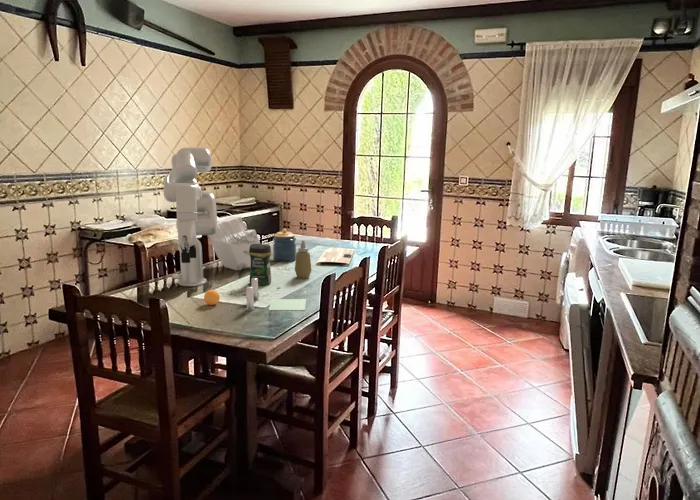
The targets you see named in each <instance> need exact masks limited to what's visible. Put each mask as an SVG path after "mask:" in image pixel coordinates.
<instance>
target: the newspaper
mask: <svg viewBox="0 0 700 500" xmlns="http://www.w3.org/2000/svg"><path fill="white" fill-rule="evenodd" d="M354 254H355V249H352V248H351V249H350V248H339V247H338V248H337V247H336V248H335V247H333V248H326V249H325V250H324V251H323V252H322V254H321V255H320V257H319V258H318V260H317V261H316V262H315V264H316V266H321V265H322V264H323V263H338V264H339V263H341V265H342V266H343V267H348V266H350V264H351V262H352V260H353V256H354Z"/></svg>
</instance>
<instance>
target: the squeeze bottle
mask: <svg viewBox="0 0 700 500" xmlns="http://www.w3.org/2000/svg"><path fill="white" fill-rule="evenodd" d="M294 271H295V274H296V277H297V279H308V278H309V277H310V276H311V272H312V262H311V253H310V252H309V248H308V247H306V241H305V240H301V243H300V247H298V252H296V260H295V264H294Z"/></svg>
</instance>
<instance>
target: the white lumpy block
mask: <svg viewBox="0 0 700 500" xmlns="http://www.w3.org/2000/svg"><path fill="white" fill-rule="evenodd" d="M208 237H209V240H210V242H211V244H212V246H213V247H212V248H213V250H214V253H215V255H216V257H217V258H218V259H219V260H220V262H221V264H222V265H223V266H224V268H226V267H227V268H228V269H231V270H234V271H242V270H243V269H247V268H249V267H251V258H250V255H249V249H250V245H252V244H261V242H260V240H259V237H258V234H257V232H256V229H248V228H247V226H246V225H245V223H244V221H243V218H242V217H241V216H237V215H229V216H227V217H225V218H224V219H221V220H220V221H217V232H216V233H215V234H213V235H208ZM227 268H226V269H227Z"/></svg>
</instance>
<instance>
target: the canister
mask: <svg viewBox="0 0 700 500" xmlns="http://www.w3.org/2000/svg"><path fill="white" fill-rule="evenodd" d="M273 235H274V237H273V238H272V241H273V244H272V246H273V247H272V248H273V251H272V254H273V255H272V258H273V261H275V262H279V263H288V262H294V261H295V262H296V253H297V243H296V240H297V238H296V237H295V236H296V234H295V233H293V232H292V231H288V230H287V229H286V228H283V229H282V230H281V231H278V232H276V233H275V234H273Z"/></svg>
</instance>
